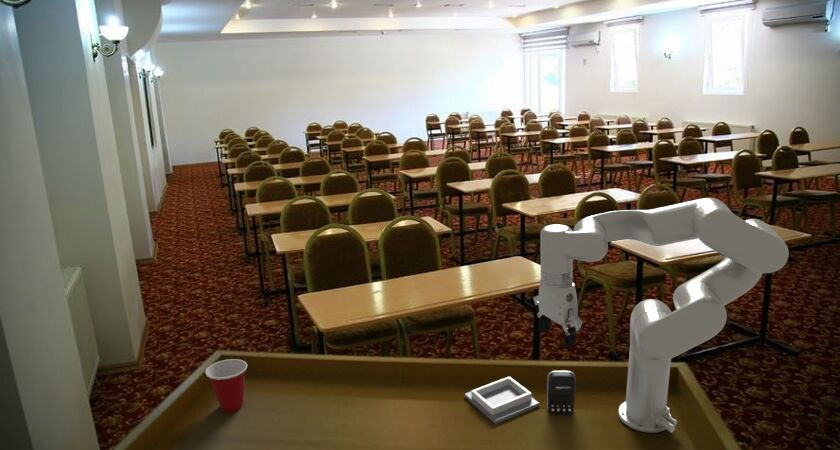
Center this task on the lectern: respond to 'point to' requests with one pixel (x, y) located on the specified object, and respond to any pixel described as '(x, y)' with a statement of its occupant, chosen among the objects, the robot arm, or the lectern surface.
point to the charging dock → (502, 399)
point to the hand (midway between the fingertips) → (556, 339)
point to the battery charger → (561, 392)
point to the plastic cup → (228, 383)
